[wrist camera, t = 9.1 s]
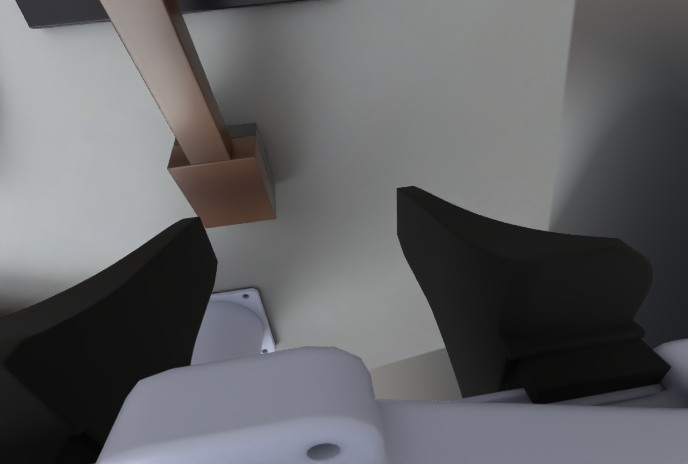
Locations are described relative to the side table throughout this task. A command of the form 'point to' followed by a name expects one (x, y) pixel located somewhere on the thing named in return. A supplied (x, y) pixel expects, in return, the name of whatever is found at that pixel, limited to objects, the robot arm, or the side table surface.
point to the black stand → (85, 8)
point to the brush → (195, 118)
